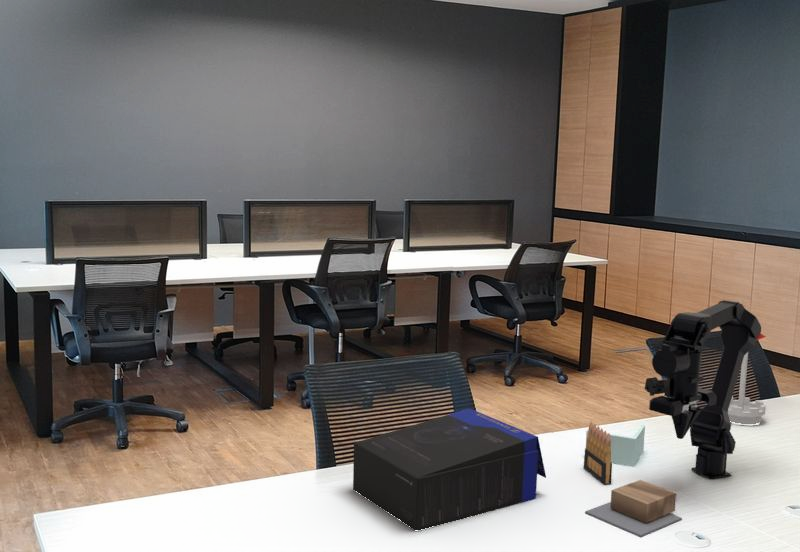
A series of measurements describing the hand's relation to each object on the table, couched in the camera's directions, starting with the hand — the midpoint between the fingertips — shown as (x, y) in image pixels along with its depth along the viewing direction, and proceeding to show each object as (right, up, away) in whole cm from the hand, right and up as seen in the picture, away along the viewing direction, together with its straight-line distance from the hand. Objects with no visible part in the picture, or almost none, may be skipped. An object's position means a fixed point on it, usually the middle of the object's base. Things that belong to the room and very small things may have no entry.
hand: (680, 438), depth 193 cm
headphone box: (-52, -12, -3) cm, 53 cm away
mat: (-14, -14, -13) cm, 24 cm away
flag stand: (+35, -5, +55) cm, 66 cm away
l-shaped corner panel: (-9, -9, +24) cm, 27 cm away
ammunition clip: (-17, -11, +9) cm, 22 cm away
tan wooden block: (-8, -11, -9) cm, 16 cm away
